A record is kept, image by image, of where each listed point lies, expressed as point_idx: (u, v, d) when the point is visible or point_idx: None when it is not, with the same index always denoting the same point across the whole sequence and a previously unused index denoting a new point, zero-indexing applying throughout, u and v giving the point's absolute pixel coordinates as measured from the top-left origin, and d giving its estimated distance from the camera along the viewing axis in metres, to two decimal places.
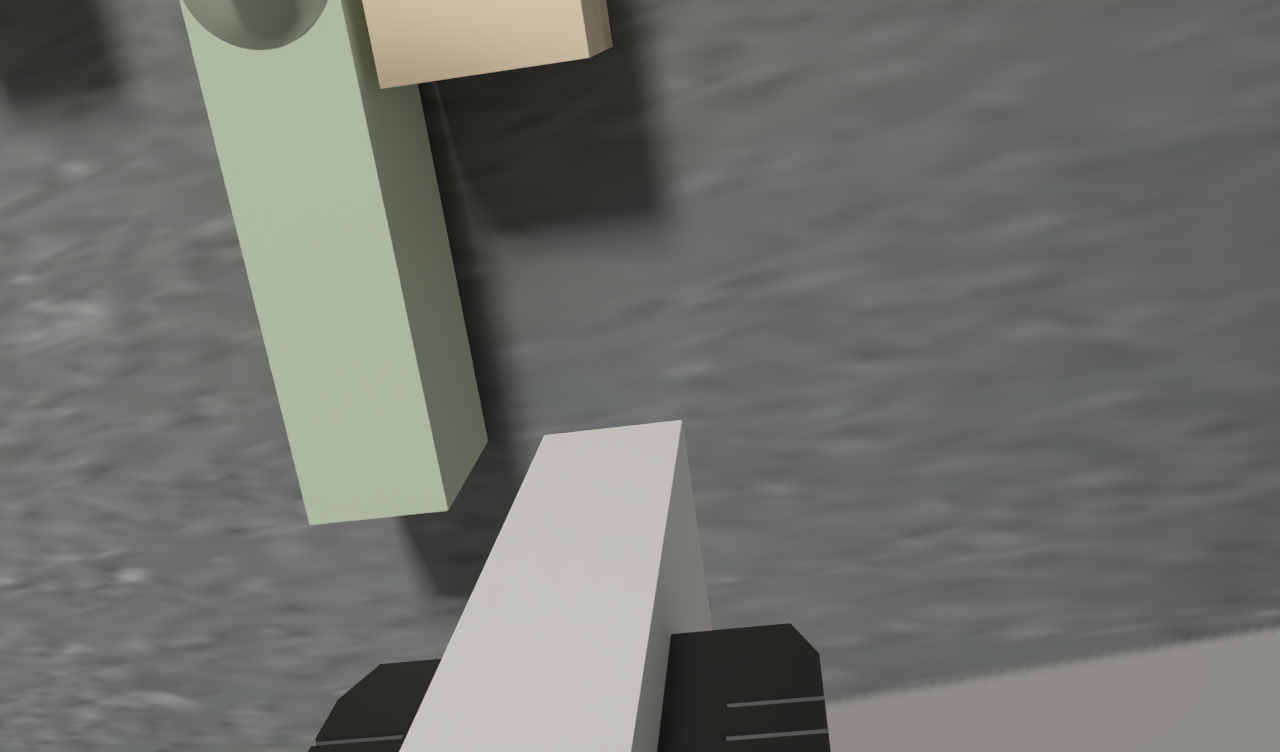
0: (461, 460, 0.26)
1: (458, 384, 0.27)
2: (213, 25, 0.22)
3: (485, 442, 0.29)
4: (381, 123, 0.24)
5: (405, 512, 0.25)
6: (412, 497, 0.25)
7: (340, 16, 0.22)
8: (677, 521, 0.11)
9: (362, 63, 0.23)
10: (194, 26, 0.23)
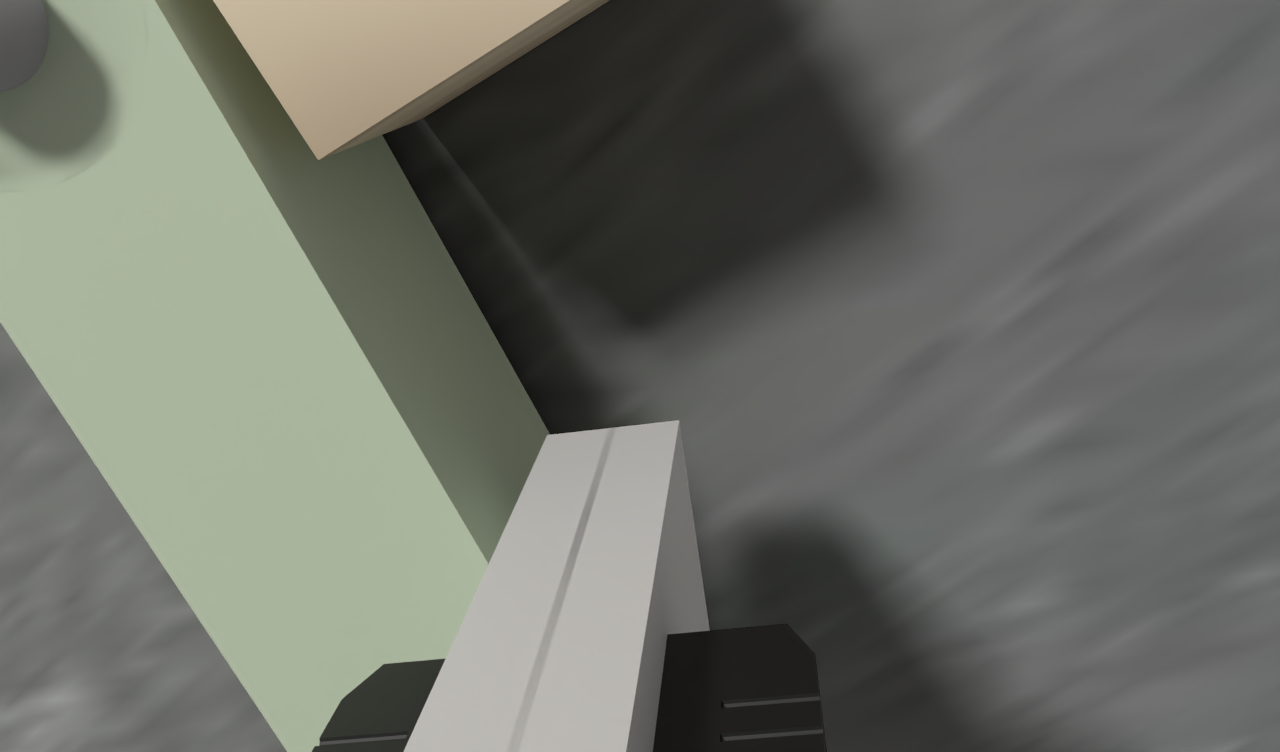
0: None
1: None
2: None
3: None
4: (340, 244, 0.12)
5: None
6: None
7: (183, 62, 0.11)
8: (674, 521, 0.11)
9: (263, 142, 0.11)
10: None
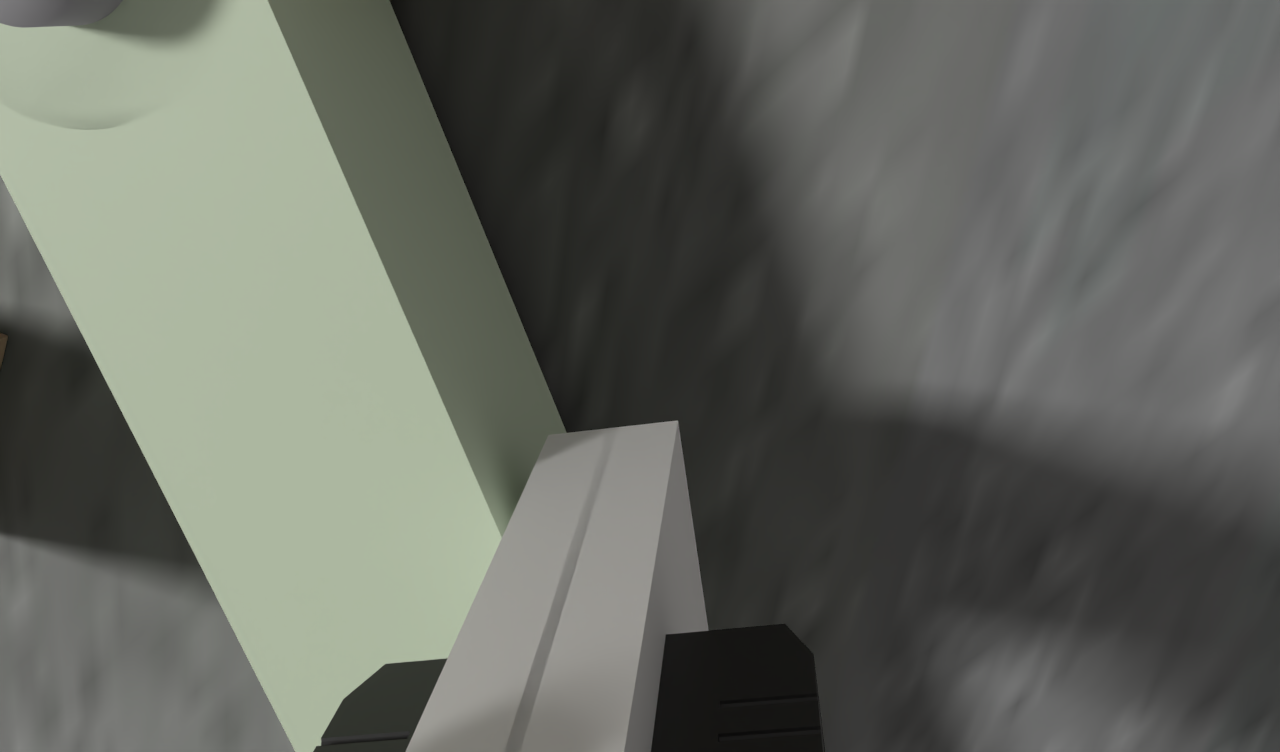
0: None
1: None
2: (20, 96, 0.11)
3: None
4: (395, 218, 0.12)
5: None
6: None
7: (268, 19, 0.11)
8: (673, 522, 0.11)
9: (334, 109, 0.11)
10: None
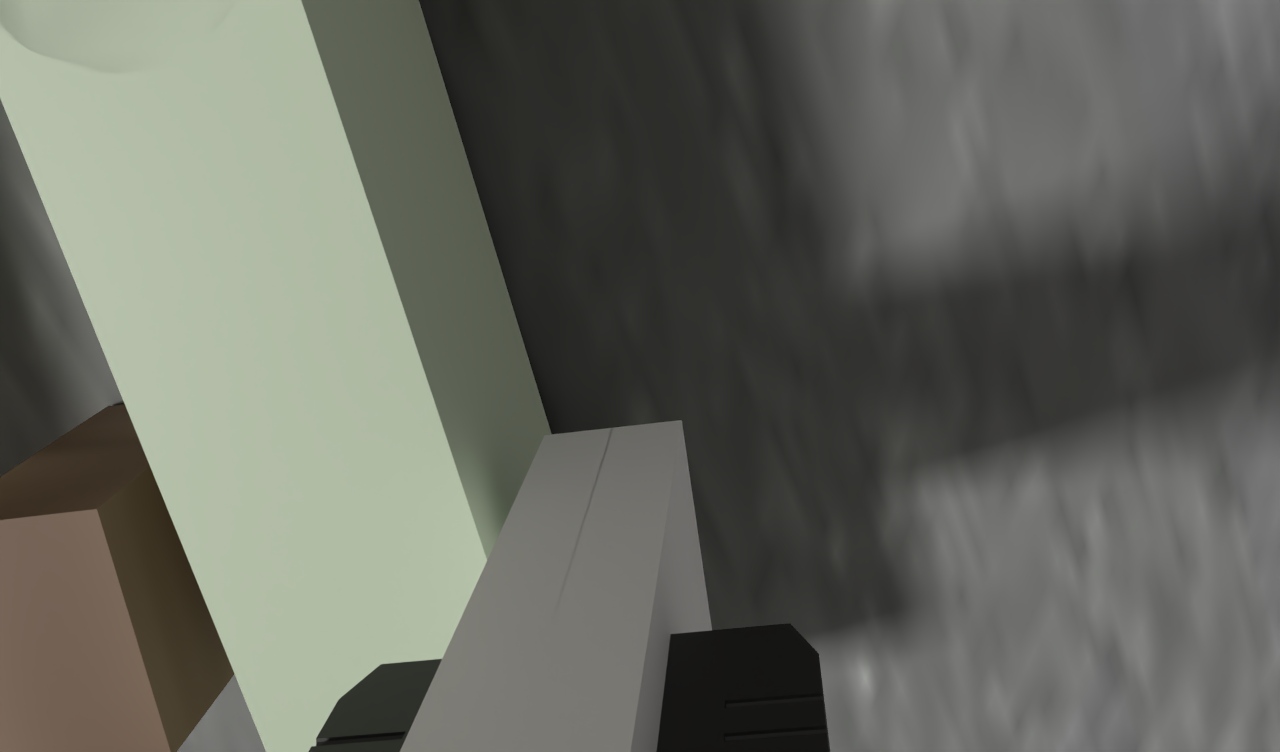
0: None
1: None
2: (31, 33, 0.11)
3: None
4: (396, 190, 0.12)
5: None
6: None
7: None
8: (677, 521, 0.11)
9: (344, 75, 0.11)
10: None
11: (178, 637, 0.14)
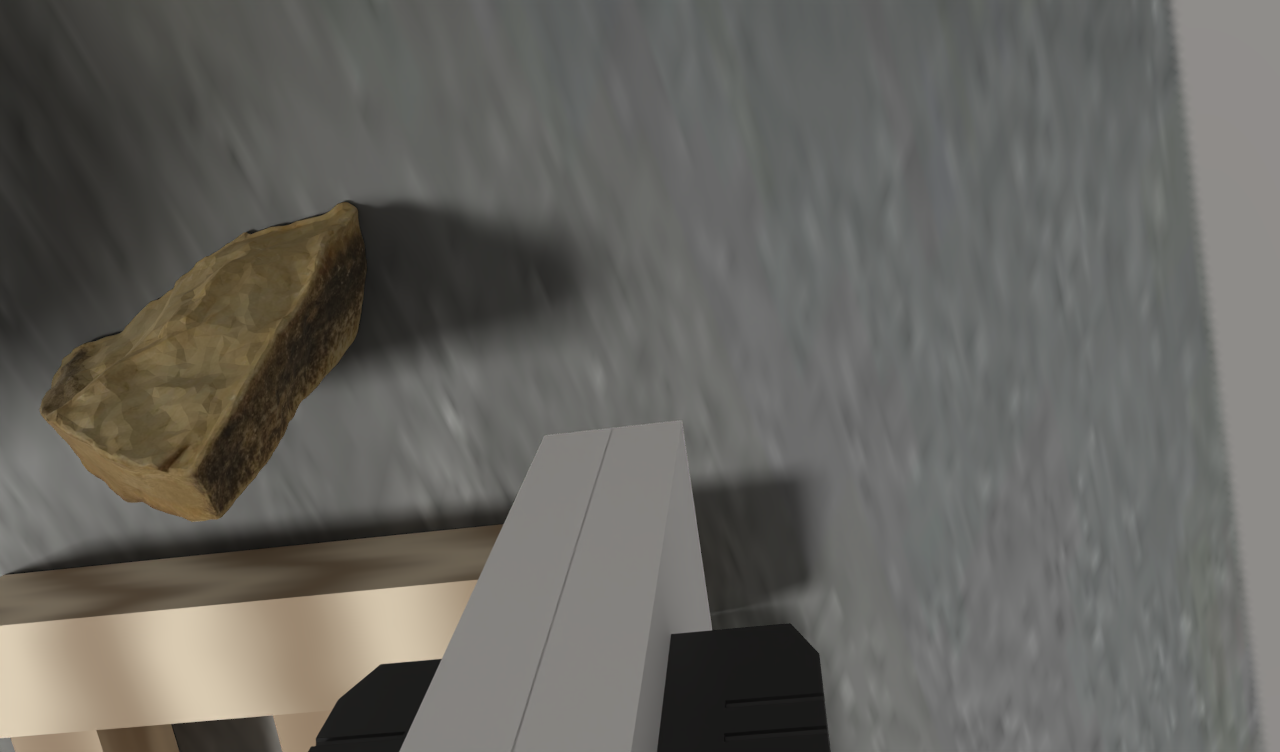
0: None
1: None
2: None
3: None
4: None
5: None
6: None
7: None
8: (677, 521, 0.11)
9: None
10: None
11: None
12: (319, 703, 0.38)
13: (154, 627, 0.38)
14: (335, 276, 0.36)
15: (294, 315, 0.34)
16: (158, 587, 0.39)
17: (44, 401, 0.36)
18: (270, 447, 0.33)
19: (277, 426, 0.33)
